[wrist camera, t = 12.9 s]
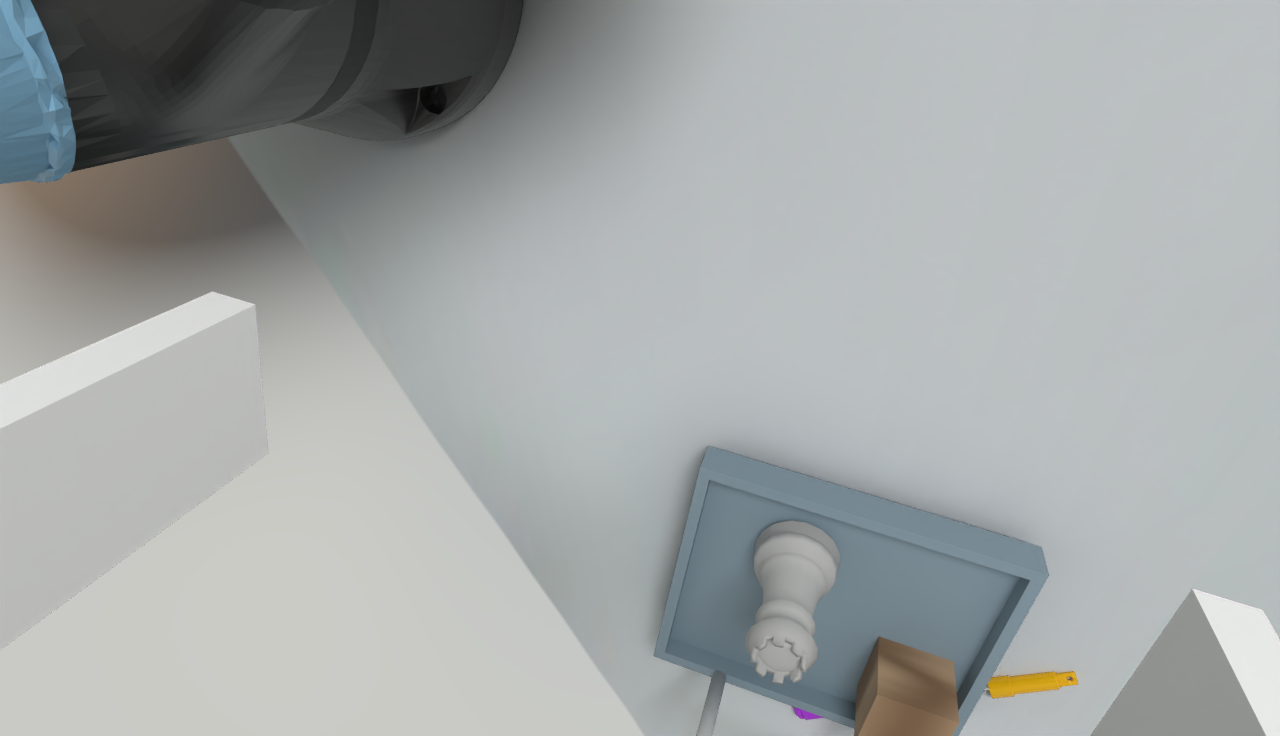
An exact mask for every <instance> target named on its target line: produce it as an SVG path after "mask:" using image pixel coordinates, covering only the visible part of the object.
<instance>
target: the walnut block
mask: <svg viewBox="0 0 1280 736" xmlns="http://www.w3.org/2000/svg"><path fill="white" fill-rule="evenodd" d="M958 724H959V715H958V704H957V692H956V681H955V670H954V661H951V660H948V659H945V658H942V657H939V656H936V655H933V654H930V653H927V652H924V651H921V650H918V649H915V648H912V647H909V646H906V645H903V644H900V643H897V642H894V641H891V640H888V639H885V638H883V637H880V636H879V637H878V639H877V641H876V644H875V646H874V648H873V650H872V653H871V655H870V657H869V659H868V662H867V664H866V666H865V668H864V671H863V673H862V675H861V677H860V680H859V682H858V684H857V695H856V714H855V732H854V736H952V735H953V733H954V731H955V730H956V728H957V726H958Z"/></svg>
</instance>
